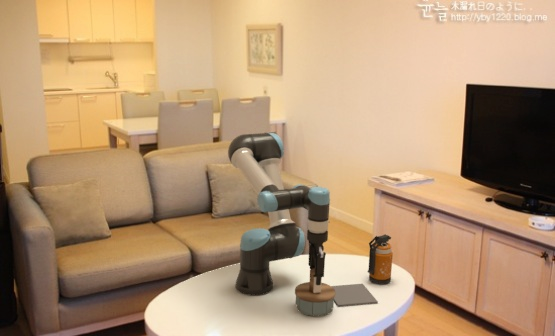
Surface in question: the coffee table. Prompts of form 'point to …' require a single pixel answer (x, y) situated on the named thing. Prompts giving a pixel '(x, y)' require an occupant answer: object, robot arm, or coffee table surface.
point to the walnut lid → (307, 294)
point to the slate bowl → (314, 307)
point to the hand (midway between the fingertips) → (315, 288)
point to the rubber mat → (353, 295)
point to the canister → (380, 260)
